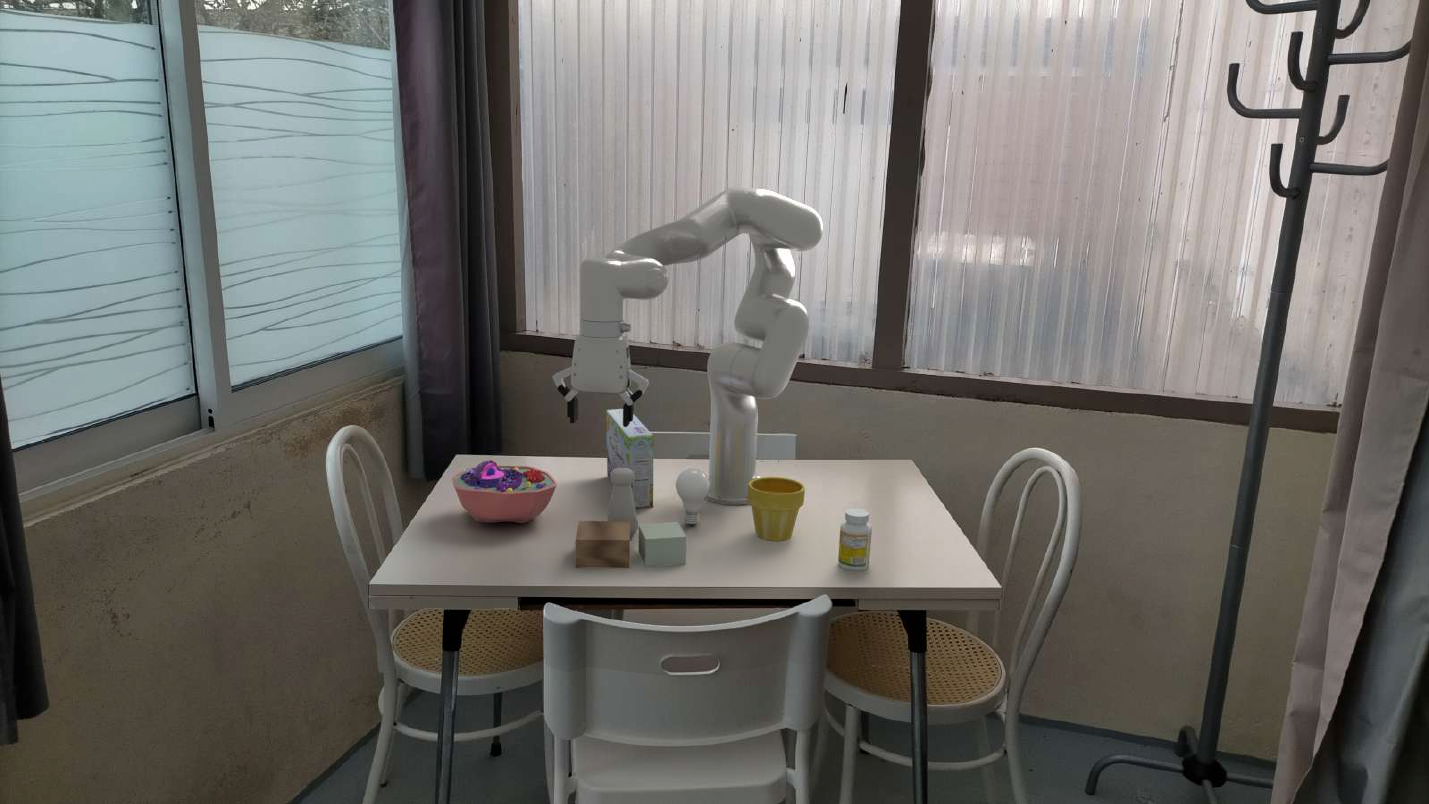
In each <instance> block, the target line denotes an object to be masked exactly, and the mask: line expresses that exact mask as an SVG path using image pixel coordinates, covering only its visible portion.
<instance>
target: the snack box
mask: <svg viewBox="0 0 1429 804" xmlns="http://www.w3.org/2000/svg"><path fill="white" fill-rule="evenodd" d="M605 416H606V418H605V420H606V421H605V422H606V423H605V424H606V427H605V428H606V468H607V470H606V471H607V473H606V475H607V478H608V480H609V481H610V482H611V480H610V474H611V471H612V470H614V469H617V468H628V469H631V470H632V471H633V472H634V482H633V483H632V484H631V488H632V493H633V499H634V505H635V510H636V509H637V510H638V509H645V508H646V509H647V508H653V507H654V441H655V439H654V438H655V437H654V435H653V434H652V433H651V431H650V430H649V429H648V428H647V427H646V426H645V425H644V424H643V422H641V421H640V420H639V419H638V418H639V417H637V416H636V415H635V413H633V421H632V422H630V424H629V425H628V426H627V427H624V426H623V408H618V409H615V408H614V409H606V410H605ZM611 484H612V485H613V483H611Z"/></svg>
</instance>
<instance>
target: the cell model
mask: <svg viewBox="0 0 1429 804" xmlns="http://www.w3.org/2000/svg"><path fill="white" fill-rule="evenodd" d="M451 482H452V486H453V488H454V490H455V492H456V494H457V497H458V500H459V502H460V506H461V507H462V508H464V510H465V511H466V512H467V513H468V514H469V515H470V517H472V518H473V519H474V520H476V521H478V522H481V523H500V522H501V523H502V522H512V523H515V524H525V523H527V522H529V521H532V520H534V519H535V518H536V517H538V516H539V515H541V514H542V513H543V512H544V511H545V510H546V509H547V508H548V506H549V504H550V502H551V500H552V498H553V496H554V492H555V490H556V487H557V486H558V485H557V484H558V483H557V481H556V479H555V478H554V477H553V476H552V475H551V474H550V473H549V472H548V471H546V470H543V469H540V468H537V467H534V466H530V465H529V466H528V465H498V464H497V462H495V461H494V460H491V459H489V460H484V461H481V462H480V463H478V464H477V465H476V467H470V468H466V469H463V470H462V471H461V470H460V472H457V474H454V475H453V476H452V477H451Z"/></svg>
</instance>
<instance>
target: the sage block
mask: <svg viewBox="0 0 1429 804" xmlns="http://www.w3.org/2000/svg"><path fill="white" fill-rule="evenodd" d="M637 534H638V541H637V542H638V543H637V545H638V546H637V549H638V550H637V551H638V554H639V556H640V559H641V561H642V563H643V565H644V567H645V568H650V567H651V568H652V567H663V566H664V567H665V566H666V567H667V566H677V565H687V542H688V541H687V539H688V537H687V535H686V532H684V530H683V528H682V526H681V525H680V524H679V521H677V522H676V521H675V522H674V521H673V522H661V523H660V522H657V523H643V524H641V523H640V524H639V523H638V533H637Z"/></svg>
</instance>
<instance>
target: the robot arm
mask: <svg viewBox="0 0 1429 804" xmlns="http://www.w3.org/2000/svg"><path fill="white" fill-rule="evenodd" d="M823 229H824V225H823V220H822V218H821V216H820V214H819V213H818V212H817V211H816V210H815V209H814V208H812V207H810V206H808V205H805V204H804V203H801V202H799V201H795V200H793V199H791V198H789V197H786V196H783V195H781V194H778V193H777V192H774V191H771V190H767V189H763V188H762V189H761V188H751V187H750V188H749V187H731V188H730V187H729V188H727V189H725V190H723V191H721V192H719V193H718V194H717V195H715V196H713V197H711V199H709V200H707V201H706V202H705V203H703V204H701V205H700V206H698V207H697V208H696V209H694V210H693V211H691V212H689V213H687V214H686V215H685V216H683V217H682V218H679V219H677V220H675V221H671V222H669V223H666V224H663V225H660V226H659V227H655V228H652V229H649V230H647V231H644V232H642V233H640V234H638V235H634V236H633V237H631V238H629V239H628V240H626V241H625V242H623V243H621V244H620V245H618V246H617V247H616V248H614V249H612V250H611V251H610V252H608V253H607V254H606V255H605V256H604V257H589V258H586V259H583V261H581V263H580V266H579V267H580V270H579V271H580V272H579V279H580V280H579V334H577V335H576V337H575V340H574V346H573V352H572V360H571V366H570V367H567V368H565V369H562V370H561V371H559V372H556V373H555V374H553V375H552V380H553V382H554V384H555V386H556V388H557V391H558V392H559V394H561V395H562V397H564V400H565V401H566V402H567V403H566V404H567V405H566V414H567V415H566V417H567V418H569V423H570V424H575V423H576V422H577V421H578V419H579V399H578V397H577V395H578V394H579V393H587V394H589V393H590V394H602V395H619V397H621V398H622V399H621V400H623V401H624V404H623V406H622V409H623V426H624V427H627V426H628V425H629V424H630V422H632V421H633V414H634V403H635V402H636V401H637V400H639V399H640V398H641V397H642V396H643V394H644V393H645V391H646V390H647V387H648V386H649V383H650V380H649V379H647V378H646V377H645V376H643V375H641V374H639V373H637V372H635V371H634V370H632V369H631V355H630V347H629V339H628V337H627V336H625V335H624V334H625V333H627V332H628V333H630V332H631V330H632V326H631V325H632V324H629V323H626V322H625V319H624V300H625V299H629V300H630V299H631V300H642V301H648V300H649V301H650V300H653V299H656V298H658V297H659V296H661V295H662V294H663V293H664V292H665V291H666V289H667V288H668V284H669V273H668V270H667V269H666V266H670V265H678V264H689V263H693V262H697V261H701V260H703V259H706V258H707V257H709V256H711V255H712V254H713V253H715V252H716V251H718V250H719V249H720V248H722V247H724V246H725V245H727V244H728V243H729V242H730V241H732V240H734V239H735V238H736V237H737V236H740V235H743V234H748V236H749V239H750V241H751V242H750V243H751V244H752V248H753V252H754V258H755V259H754V260H755V261H754V268H753V272H752V274H751V278H750V279H749V282H748V284H747V287H746V289H745V292H744V293H743V296H742V298H741V301H740V303H739V305H738V308H737V310H736V313H735V316H734V322H733V325H734V329H735V331H736V333H737V334H738V335H739V336H741V337H742V338H743V339H745V340H746V339H747V340H750V341H753V342H757V343H761V344H762V346H761V347H756V346H754V345H749V344H743V343H740V342H735V341H734V342H733V341H731V342H724V343H720V344H719V345H717V346H716V347H714V349H713V350H712V351H711V353H710V354H709V356H708V359H707V366H706V368H707V369H706V371H707V378H708V379H707V380H708V385H709V391H710V392H709V393H710V394H709V395H710V425H709V426H710V427H709V428H710V431H709V462H708V464H709V465H708V479H709V482H710V489H709V492H708V494H707V496H706V497H705V498H704V500H707V501H709V502H712V503H717V504H722V505H731V506H732V505H734V506H735V505H747V504H750V503H749V502H748V483H749V482H750V481H751V480H753V479H756V478H762V477H763V476H762V477H761V476H759V475H758V474H757V472H756V471H757V470H756V462H757V445H758V444H757V442H758V441H757V440H758V423H759V410H758V404H757V400H756V399H760V400H772V399H775V398H777V397H778V396H779V395H781V393H783V391H784V389H785V388H786V387H787V385H788V384H789V381H790V380H791V376H792V375H793V371H794V369H795V367H796V365H797V362H798V360H799V358H800V355H801V353H802V351H803V348H804V346H805V343H806V340H807V338H808V334H809V329H810V319H809V314H808V311H807V309H806V308H805V306H804V305H803V304H801V302H799V301H796V300H794V299H791V298H789V297H790V296H791V295H790V294H791V292H792V289H793V287H794V284H795V281H796V268H795V263H794V259H793V256H792V253H791V251H797V252H807V251H809V250H812V249H814V248H815V247H817V245H818V244H819V243H820V241H821V239H822V236H823V232H824V231H823ZM569 376H570V385H571V389H570V388H569V386H568V385H566V383H565V382H564V379H565V378H567V377H569ZM631 382H634V383H636V384H638V387H637V390H636V391H635V392H632V391H631V390H630V387H631Z"/></svg>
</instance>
